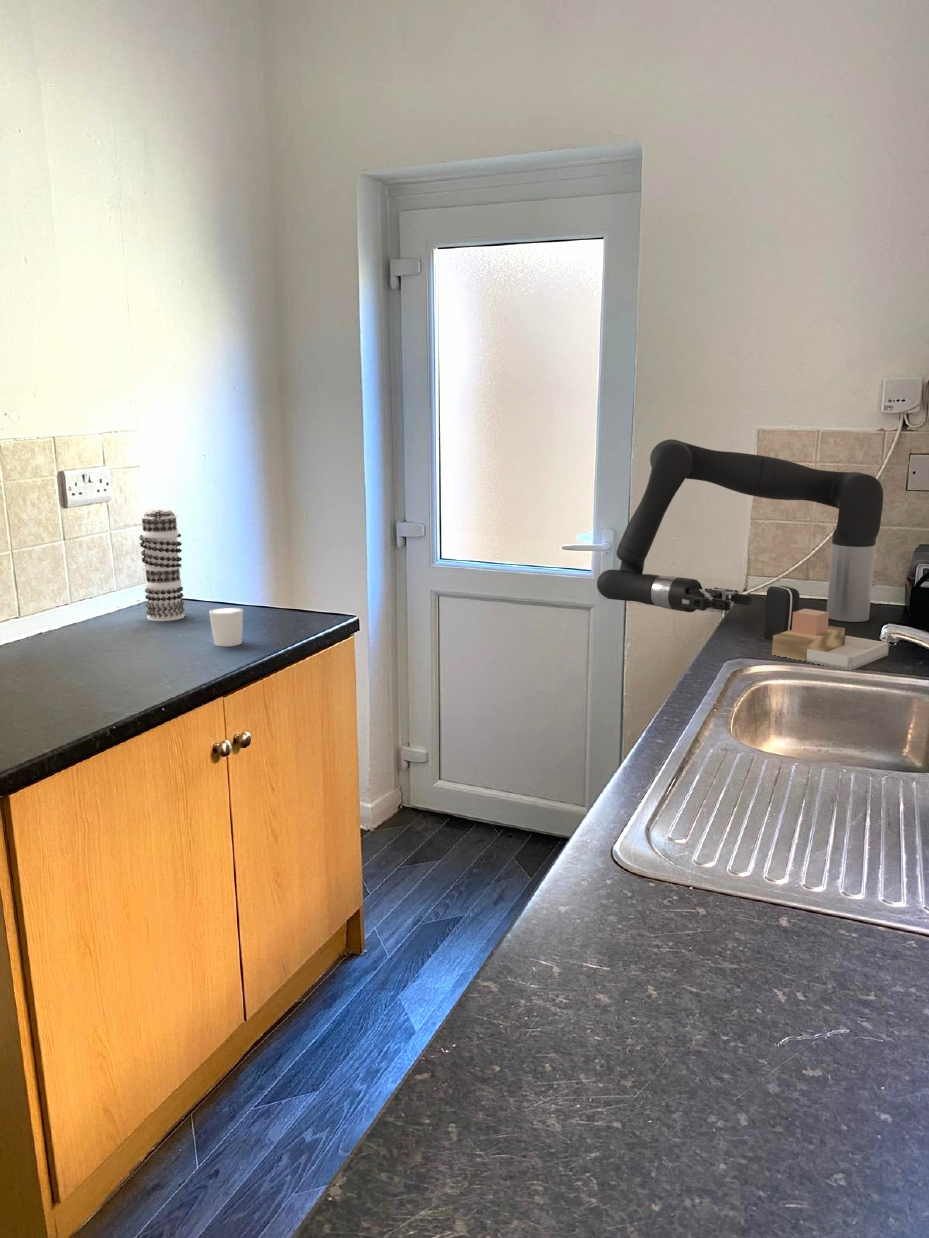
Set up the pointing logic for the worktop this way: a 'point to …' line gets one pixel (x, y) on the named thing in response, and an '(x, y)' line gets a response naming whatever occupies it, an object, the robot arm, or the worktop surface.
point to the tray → (850, 653)
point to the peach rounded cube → (810, 622)
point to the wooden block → (806, 643)
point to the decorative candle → (162, 565)
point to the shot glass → (226, 626)
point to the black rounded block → (780, 609)
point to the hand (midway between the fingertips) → (740, 603)
